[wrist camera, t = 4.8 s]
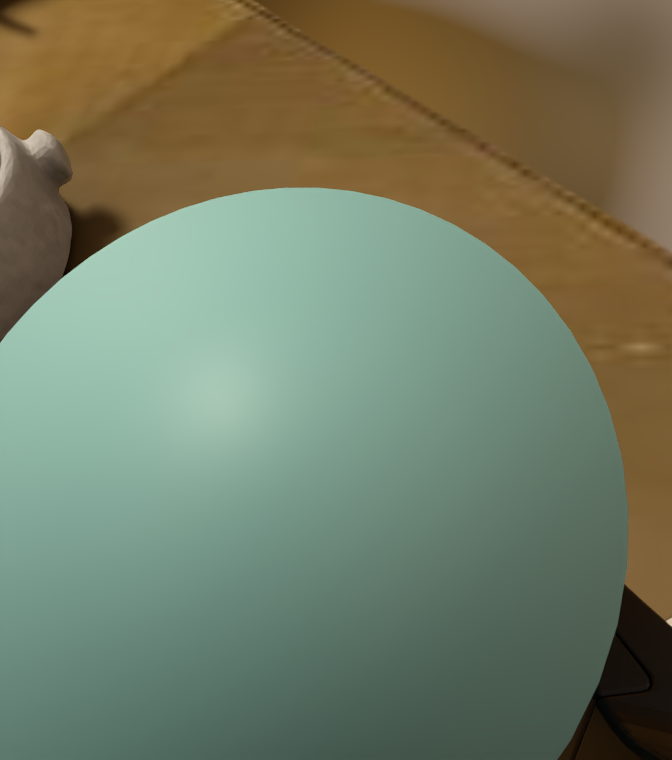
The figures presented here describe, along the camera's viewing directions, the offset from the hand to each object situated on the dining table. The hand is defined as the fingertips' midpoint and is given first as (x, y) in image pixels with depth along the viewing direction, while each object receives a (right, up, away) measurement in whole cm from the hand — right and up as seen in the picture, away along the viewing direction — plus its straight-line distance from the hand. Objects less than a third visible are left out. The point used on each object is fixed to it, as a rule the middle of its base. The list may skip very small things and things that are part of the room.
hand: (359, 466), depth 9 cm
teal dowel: (+1, -4, +5) cm, 7 cm away
